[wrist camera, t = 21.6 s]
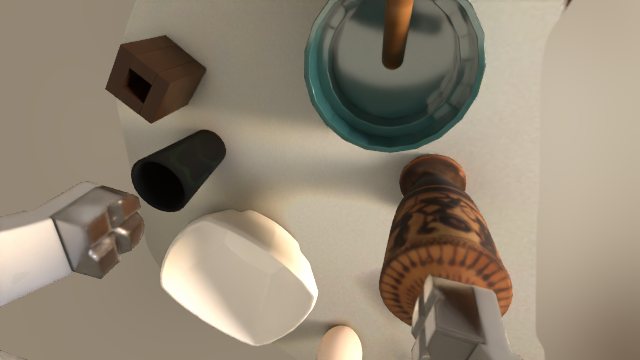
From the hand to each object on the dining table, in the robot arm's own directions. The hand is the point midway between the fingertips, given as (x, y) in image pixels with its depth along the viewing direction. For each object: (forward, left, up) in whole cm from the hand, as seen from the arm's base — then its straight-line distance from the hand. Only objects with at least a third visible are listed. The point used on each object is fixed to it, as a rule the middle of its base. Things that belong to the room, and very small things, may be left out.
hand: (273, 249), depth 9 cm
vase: (+17, -8, -35) cm, 40 cm away
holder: (-19, -20, -35) cm, 44 cm away
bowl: (+6, -36, -35) cm, 51 cm away
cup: (-10, -27, -35) cm, 45 cm away
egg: (+30, -42, -35) cm, 62 cm away
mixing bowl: (+2, 0, -35) cm, 35 cm away
